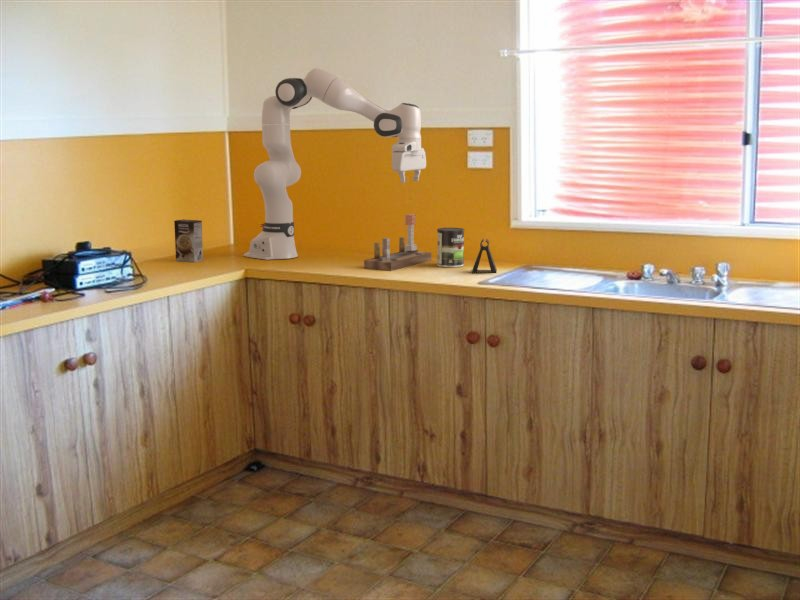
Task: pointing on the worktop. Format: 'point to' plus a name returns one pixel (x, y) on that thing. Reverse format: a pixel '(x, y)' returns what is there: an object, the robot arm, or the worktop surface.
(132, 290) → the worktop surface
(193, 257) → the coffee box
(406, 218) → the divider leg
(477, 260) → the black clip stand
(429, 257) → the bolt plate
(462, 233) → the coffee can
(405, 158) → the robot arm
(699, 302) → the worktop surface
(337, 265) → the worktop surface
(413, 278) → the worktop surface
